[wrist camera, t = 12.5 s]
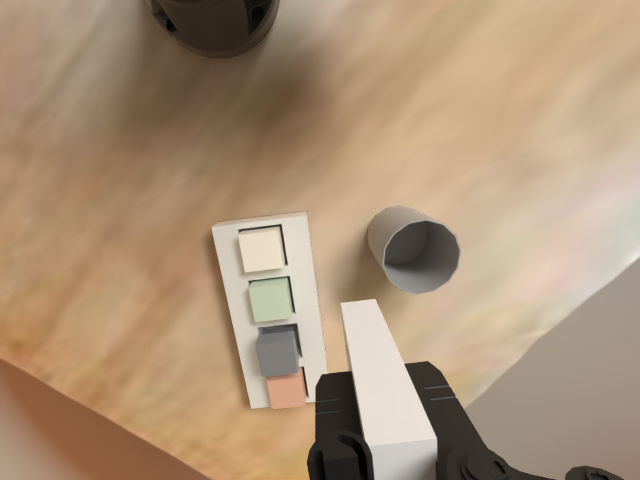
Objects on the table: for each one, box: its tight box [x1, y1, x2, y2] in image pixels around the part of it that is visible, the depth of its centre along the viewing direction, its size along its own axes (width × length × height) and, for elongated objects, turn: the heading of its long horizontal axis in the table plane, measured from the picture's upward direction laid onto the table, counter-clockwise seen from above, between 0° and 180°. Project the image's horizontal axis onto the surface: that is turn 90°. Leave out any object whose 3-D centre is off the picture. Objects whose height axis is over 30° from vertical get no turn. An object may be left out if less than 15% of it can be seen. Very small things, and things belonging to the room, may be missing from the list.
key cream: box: [238, 226, 285, 272], centre depth 38 cm, size 5×5×4 cm
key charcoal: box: [255, 327, 299, 377], centre depth 40 cm, size 5×5×4 cm
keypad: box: [211, 211, 329, 409], centre depth 42 cm, size 28×12×4 cm, turn 7°
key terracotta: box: [267, 367, 306, 409], centre depth 43 cm, size 5×5×4 cm
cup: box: [367, 206, 461, 294], centre depth 36 cm, size 8×8×10 cm
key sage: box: [248, 276, 293, 322], centre depth 40 cm, size 5×5×4 cm
